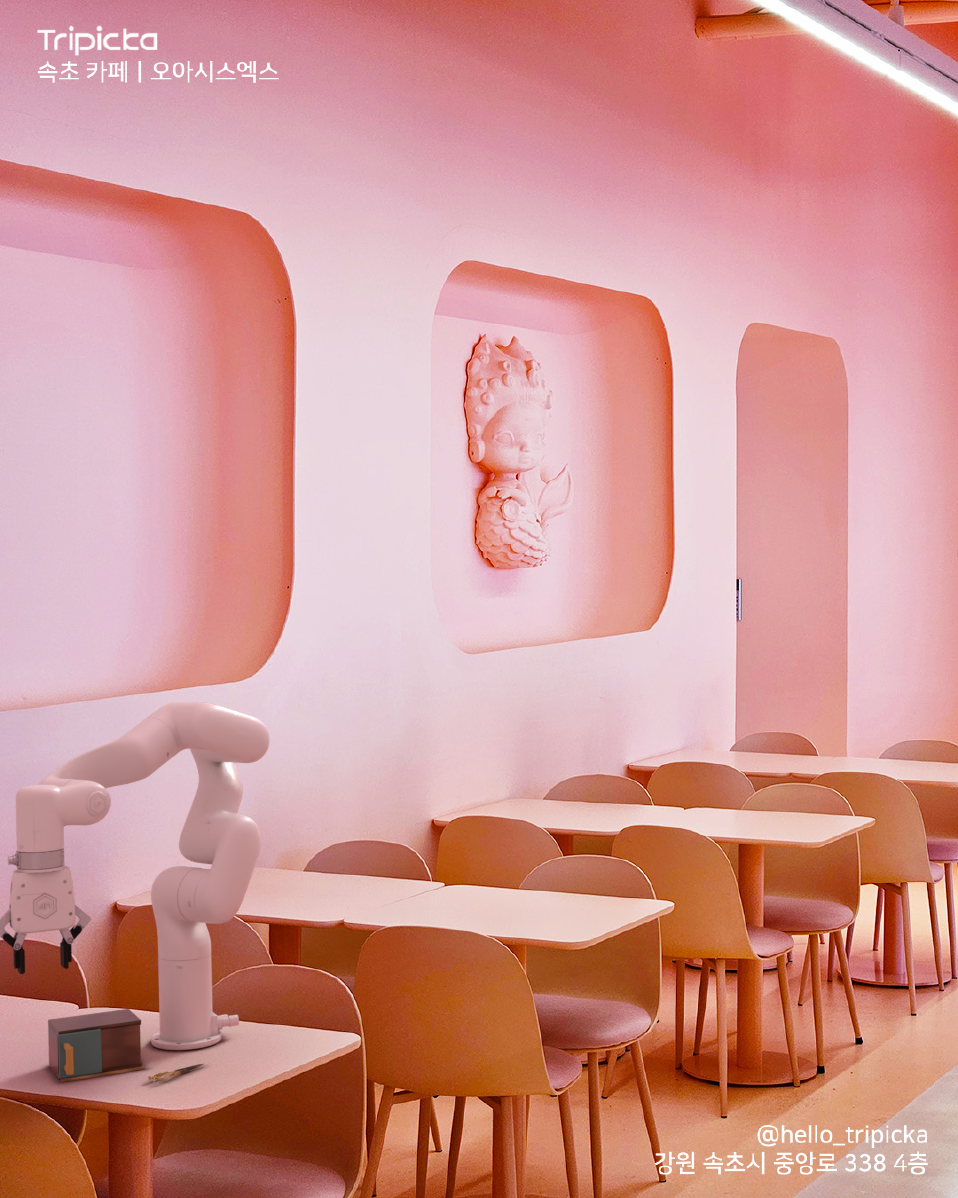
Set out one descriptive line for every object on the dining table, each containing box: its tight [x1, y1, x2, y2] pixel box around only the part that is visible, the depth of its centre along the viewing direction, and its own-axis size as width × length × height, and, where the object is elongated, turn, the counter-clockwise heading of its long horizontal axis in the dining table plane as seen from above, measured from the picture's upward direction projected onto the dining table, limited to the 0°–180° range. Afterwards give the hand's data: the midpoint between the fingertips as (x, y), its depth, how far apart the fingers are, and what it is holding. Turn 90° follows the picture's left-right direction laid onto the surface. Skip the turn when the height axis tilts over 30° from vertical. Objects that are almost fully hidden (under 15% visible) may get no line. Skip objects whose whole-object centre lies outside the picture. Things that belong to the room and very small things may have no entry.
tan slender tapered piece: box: [147, 1063, 205, 1083], centre depth 257 cm, size 12×3×1 cm, turn 141°
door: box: [58, 1029, 102, 1080], centre depth 256 cm, size 7×4×7 cm, turn 116°
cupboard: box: [47, 1008, 146, 1083], centre depth 263 cm, size 14×11×8 cm
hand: (43, 969), depth 252 cm, fingers open, 6 cm apart
